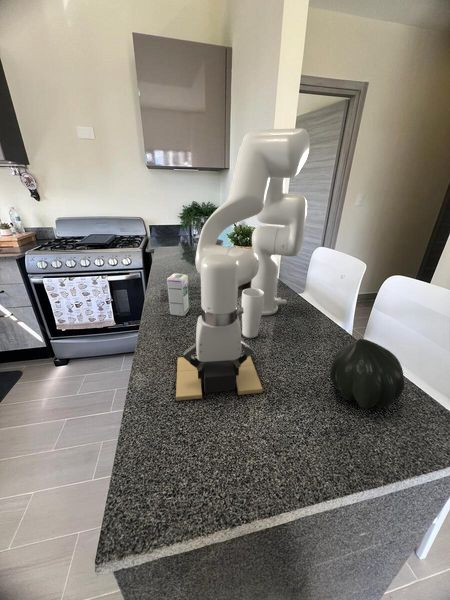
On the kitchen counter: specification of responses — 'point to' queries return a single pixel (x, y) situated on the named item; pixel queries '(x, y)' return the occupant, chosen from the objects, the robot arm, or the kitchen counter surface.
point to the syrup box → (178, 294)
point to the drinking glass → (251, 311)
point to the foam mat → (191, 384)
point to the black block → (219, 376)
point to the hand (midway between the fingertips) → (218, 378)
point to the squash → (367, 374)
